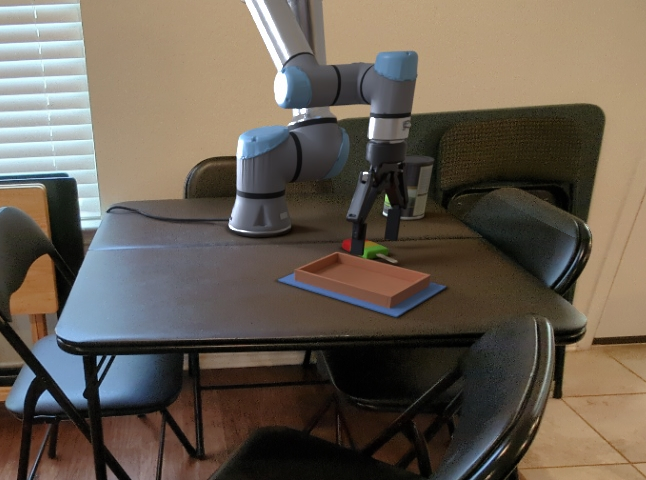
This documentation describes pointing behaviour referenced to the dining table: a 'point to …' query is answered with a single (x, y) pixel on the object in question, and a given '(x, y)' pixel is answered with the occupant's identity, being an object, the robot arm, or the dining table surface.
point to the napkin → (393, 311)
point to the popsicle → (370, 250)
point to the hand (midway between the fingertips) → (374, 246)
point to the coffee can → (415, 186)
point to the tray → (363, 279)
